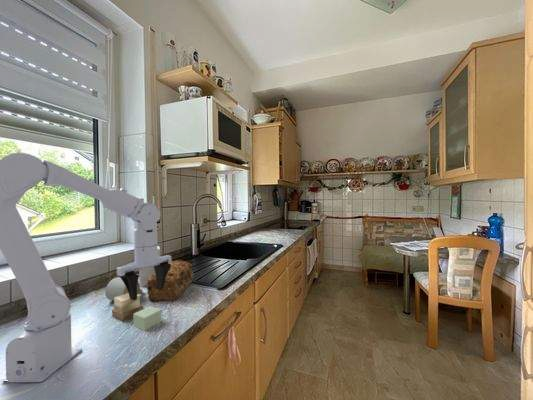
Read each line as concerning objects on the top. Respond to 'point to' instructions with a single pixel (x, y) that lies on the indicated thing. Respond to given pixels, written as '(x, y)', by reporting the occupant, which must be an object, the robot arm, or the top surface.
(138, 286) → the ceramic mug
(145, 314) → the sage block
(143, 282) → the skincare box
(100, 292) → the top surface
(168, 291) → the bread
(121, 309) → the beech block
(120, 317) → the walnut slab
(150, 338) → the top surface
